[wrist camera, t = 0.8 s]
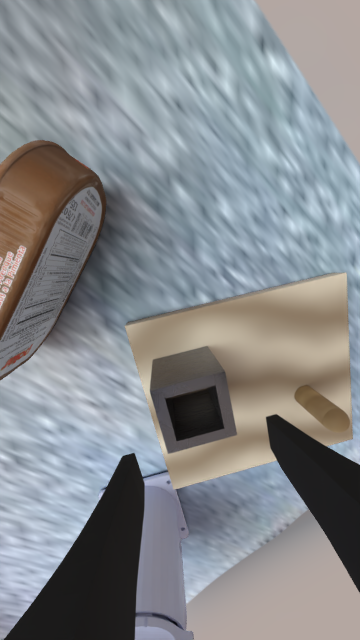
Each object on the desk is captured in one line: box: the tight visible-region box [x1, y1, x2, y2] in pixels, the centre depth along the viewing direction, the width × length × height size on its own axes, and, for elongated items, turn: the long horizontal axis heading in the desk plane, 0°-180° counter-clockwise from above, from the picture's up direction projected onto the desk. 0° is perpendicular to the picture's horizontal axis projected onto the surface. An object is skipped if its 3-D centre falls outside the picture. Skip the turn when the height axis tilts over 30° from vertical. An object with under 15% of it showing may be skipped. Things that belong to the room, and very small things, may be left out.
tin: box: [0, 140, 106, 380], centre depth 13 cm, size 15×3×8 cm, turn 149°
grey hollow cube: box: [150, 346, 237, 454], centre depth 16 cm, size 5×5×5 cm
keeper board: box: [125, 273, 353, 490], centre depth 18 cm, size 18×20×6 cm
